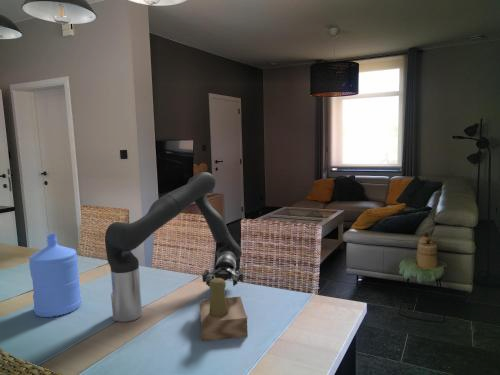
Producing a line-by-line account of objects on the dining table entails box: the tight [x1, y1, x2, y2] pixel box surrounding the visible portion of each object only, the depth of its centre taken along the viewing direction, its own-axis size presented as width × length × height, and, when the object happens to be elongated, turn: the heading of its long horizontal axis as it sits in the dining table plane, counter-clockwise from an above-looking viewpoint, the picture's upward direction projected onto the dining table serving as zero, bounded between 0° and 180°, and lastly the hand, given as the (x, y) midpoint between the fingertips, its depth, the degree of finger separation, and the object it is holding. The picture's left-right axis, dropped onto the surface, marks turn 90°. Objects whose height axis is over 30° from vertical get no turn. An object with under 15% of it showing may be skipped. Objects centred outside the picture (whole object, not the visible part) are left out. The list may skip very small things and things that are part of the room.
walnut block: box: [199, 296, 249, 342], centre depth 120 cm, size 14×16×6 cm
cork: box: [208, 278, 228, 317], centre depth 116 cm, size 6×6×11 cm
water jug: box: [28, 233, 83, 318], centre depth 136 cm, size 16×16×28 cm
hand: (221, 283), depth 123 cm, fingers open, 8 cm apart
